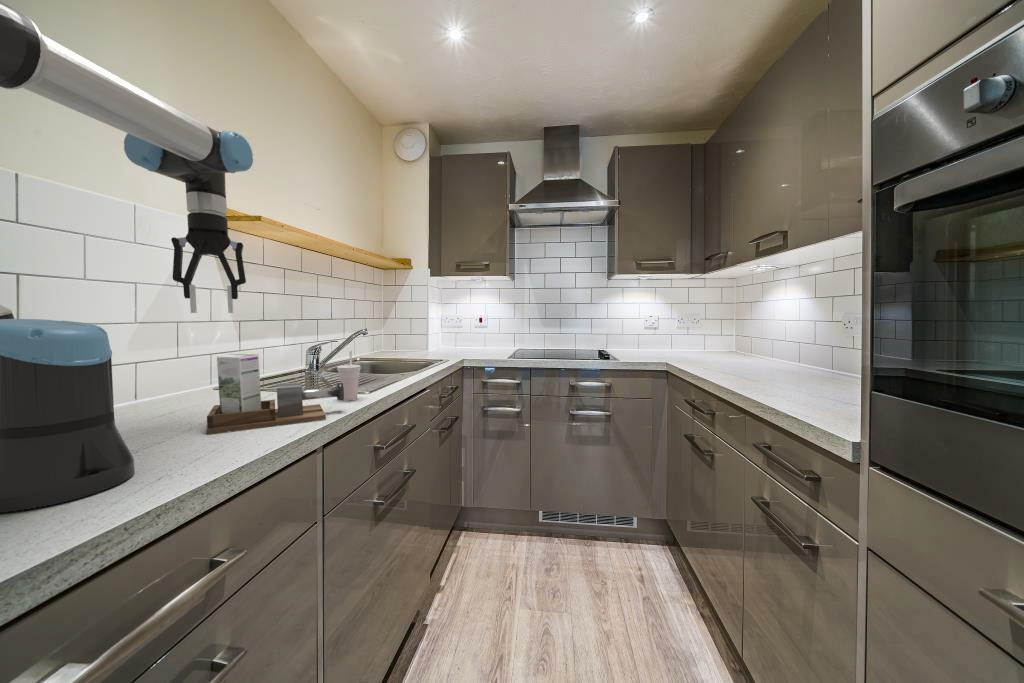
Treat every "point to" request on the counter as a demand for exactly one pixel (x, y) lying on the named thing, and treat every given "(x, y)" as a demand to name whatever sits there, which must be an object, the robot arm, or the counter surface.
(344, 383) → the smoothie
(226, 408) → the syrup box
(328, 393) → the shaft
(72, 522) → the counter surface
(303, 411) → the jig
